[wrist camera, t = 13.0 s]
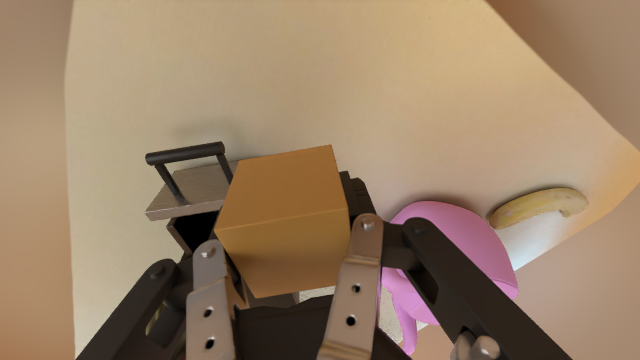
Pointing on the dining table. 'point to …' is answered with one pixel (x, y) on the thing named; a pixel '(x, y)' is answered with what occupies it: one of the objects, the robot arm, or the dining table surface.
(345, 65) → the dining table surface
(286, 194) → the light brown cube
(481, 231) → the teapot
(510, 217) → the fruit
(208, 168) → the cabinet drawer
